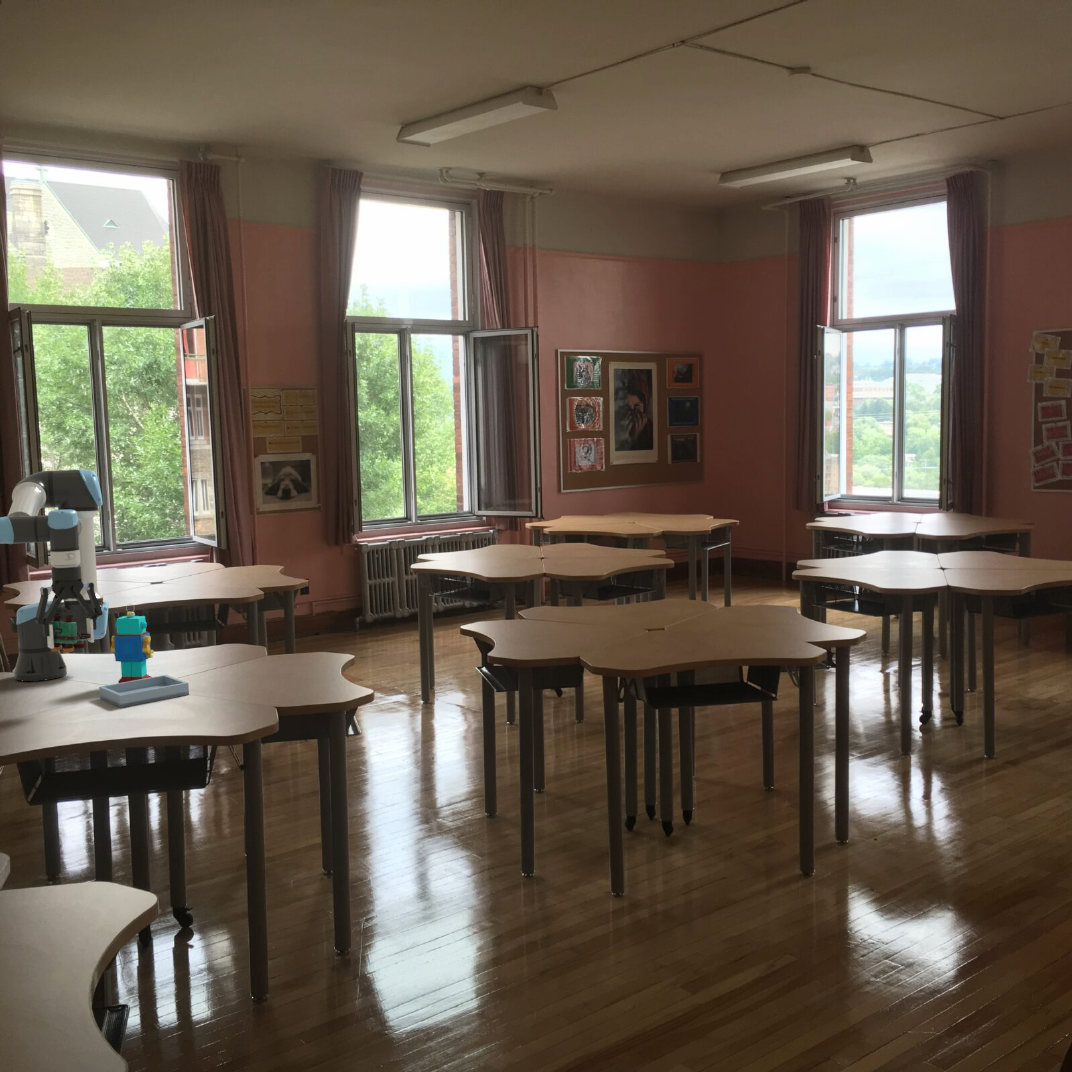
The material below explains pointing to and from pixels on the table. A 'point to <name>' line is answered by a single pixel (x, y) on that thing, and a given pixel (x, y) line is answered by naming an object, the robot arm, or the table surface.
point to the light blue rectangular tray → (143, 691)
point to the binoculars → (66, 634)
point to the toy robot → (132, 647)
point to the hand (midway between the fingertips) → (71, 644)
